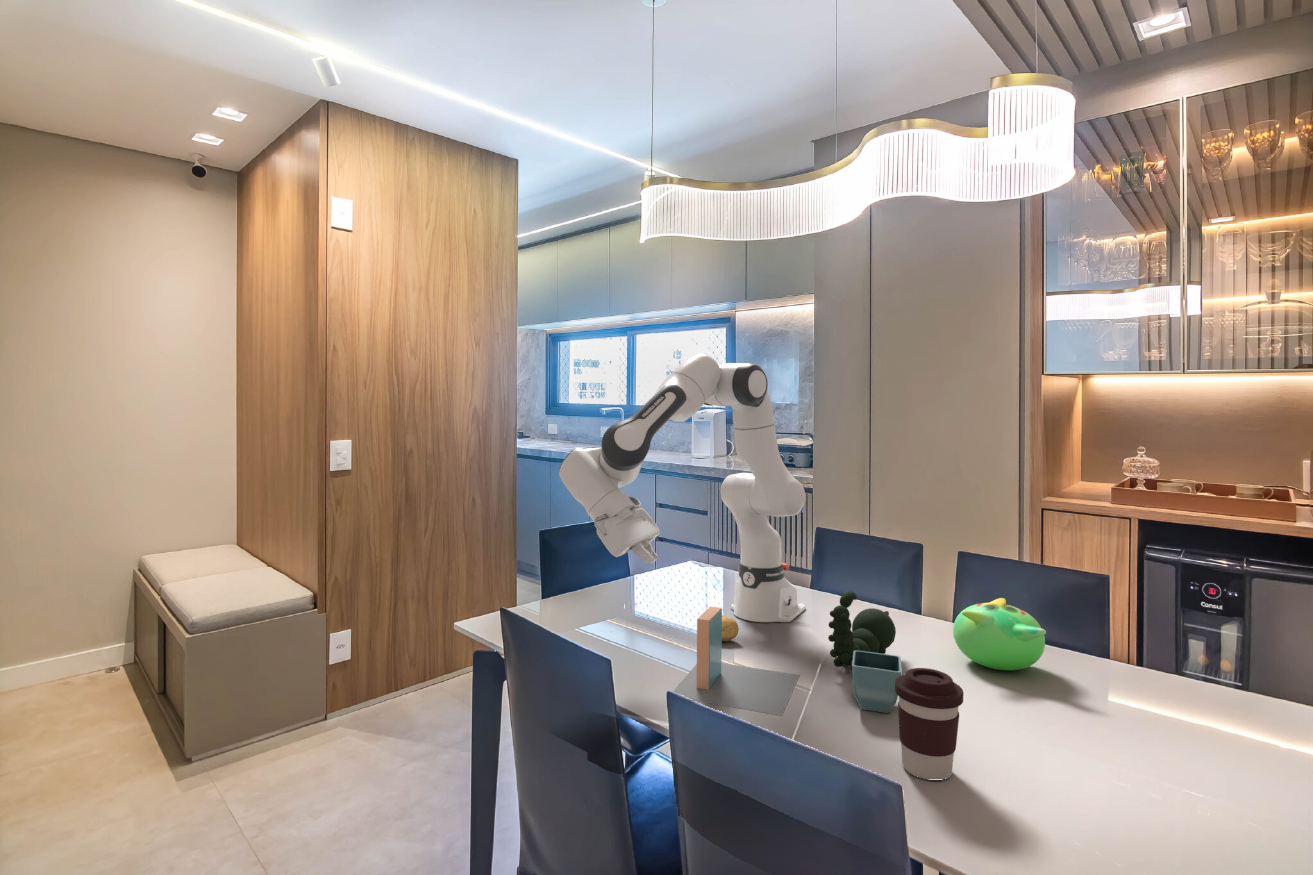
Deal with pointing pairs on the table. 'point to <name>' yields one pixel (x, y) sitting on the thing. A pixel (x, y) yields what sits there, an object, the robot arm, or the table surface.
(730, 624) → the potato
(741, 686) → the mat
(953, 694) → the coffee cup
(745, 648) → the table surface
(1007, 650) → the squishy toy
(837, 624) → the toy figurine
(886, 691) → the flower pot
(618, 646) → the table surface
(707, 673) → the block
